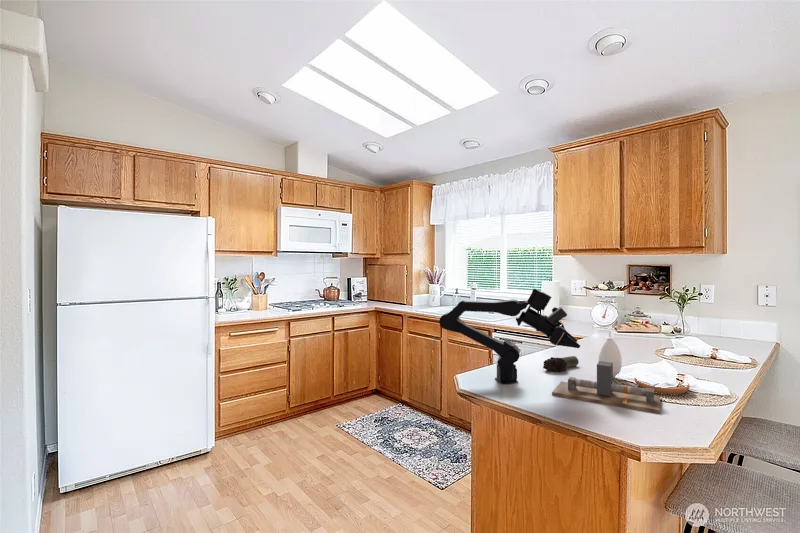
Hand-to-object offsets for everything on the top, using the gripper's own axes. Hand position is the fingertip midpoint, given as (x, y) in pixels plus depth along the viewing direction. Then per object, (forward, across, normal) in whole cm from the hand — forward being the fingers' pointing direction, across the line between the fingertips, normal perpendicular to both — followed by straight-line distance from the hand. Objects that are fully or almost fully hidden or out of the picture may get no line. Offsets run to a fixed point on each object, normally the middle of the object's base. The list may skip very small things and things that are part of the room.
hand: (578, 344), depth 139 cm
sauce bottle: (+18, +15, +7) cm, 25 cm away
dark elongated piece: (+4, +24, +16) cm, 29 cm away
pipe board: (+14, -9, +10) cm, 19 cm away
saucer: (+31, +6, 0) cm, 32 cm away
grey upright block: (+13, -9, +9) cm, 18 cm away
